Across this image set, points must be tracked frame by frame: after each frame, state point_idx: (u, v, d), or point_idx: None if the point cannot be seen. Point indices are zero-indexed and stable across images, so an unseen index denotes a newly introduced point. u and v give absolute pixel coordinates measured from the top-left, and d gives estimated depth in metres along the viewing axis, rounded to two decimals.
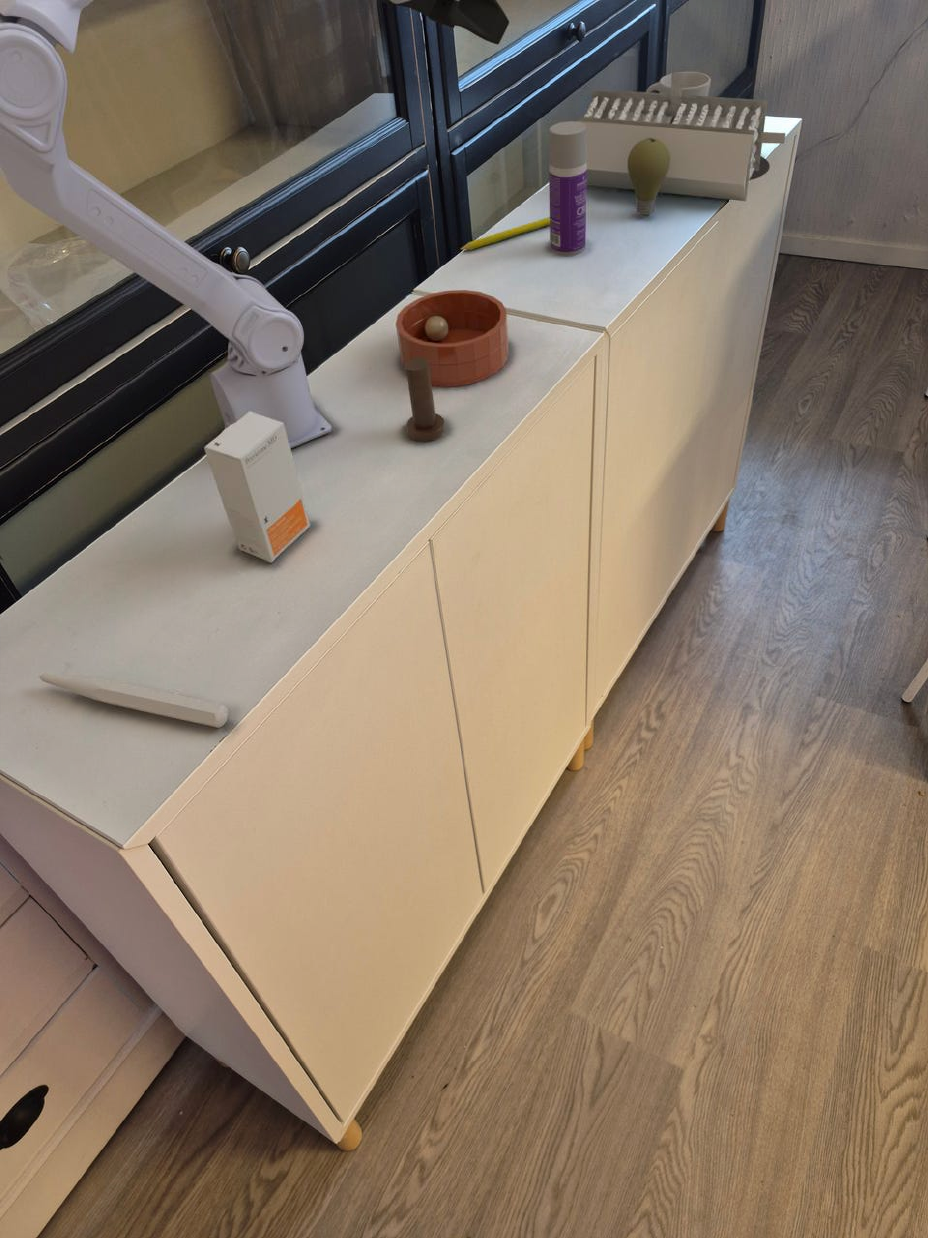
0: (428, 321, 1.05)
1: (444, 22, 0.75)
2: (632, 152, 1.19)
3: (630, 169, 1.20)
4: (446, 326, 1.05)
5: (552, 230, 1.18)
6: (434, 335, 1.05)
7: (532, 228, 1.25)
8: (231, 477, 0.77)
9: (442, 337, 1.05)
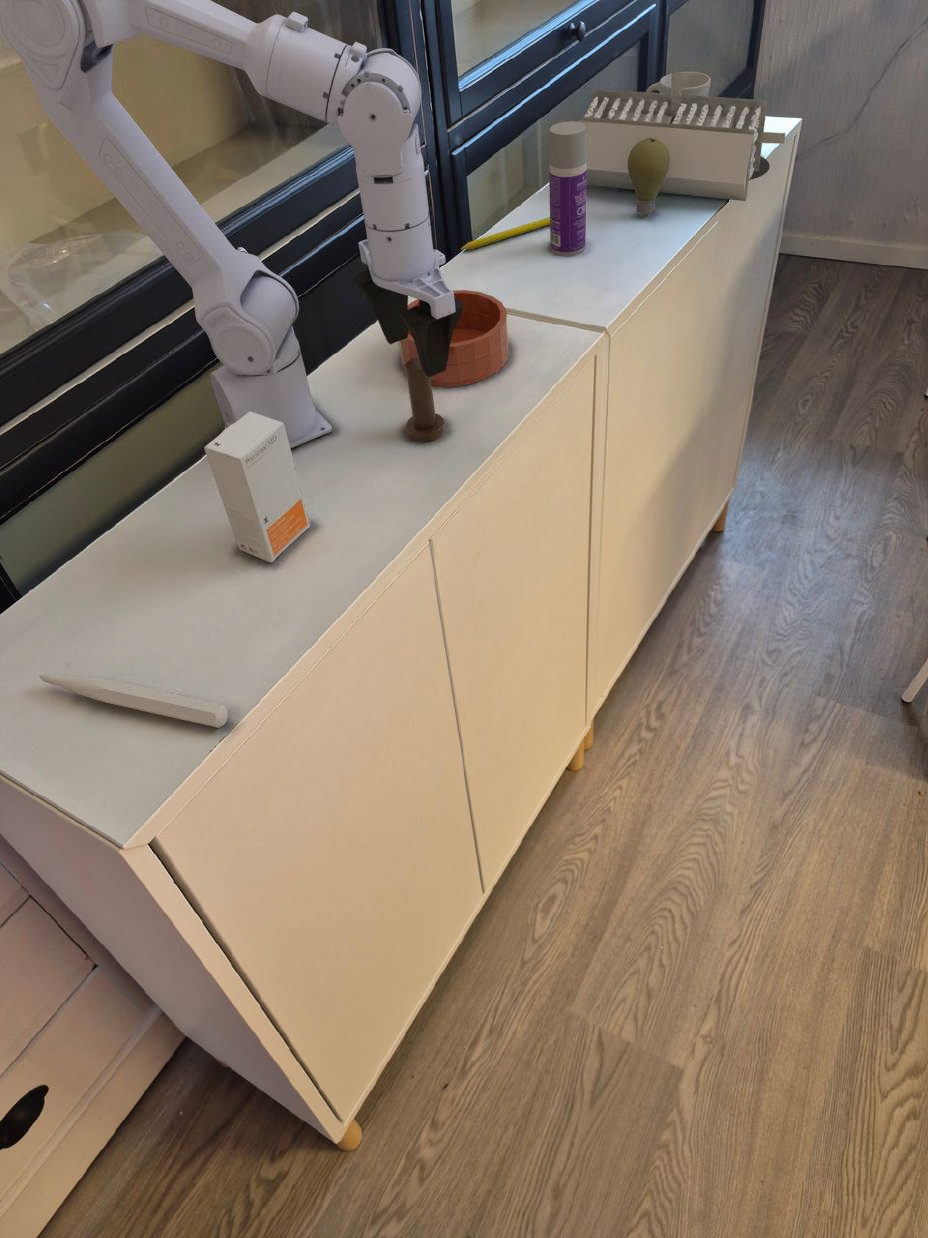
0: None
1: (412, 324, 0.79)
2: (632, 152, 1.19)
3: (630, 169, 1.20)
4: None
5: (552, 230, 1.18)
6: None
7: (532, 228, 1.25)
8: (231, 477, 0.77)
9: None
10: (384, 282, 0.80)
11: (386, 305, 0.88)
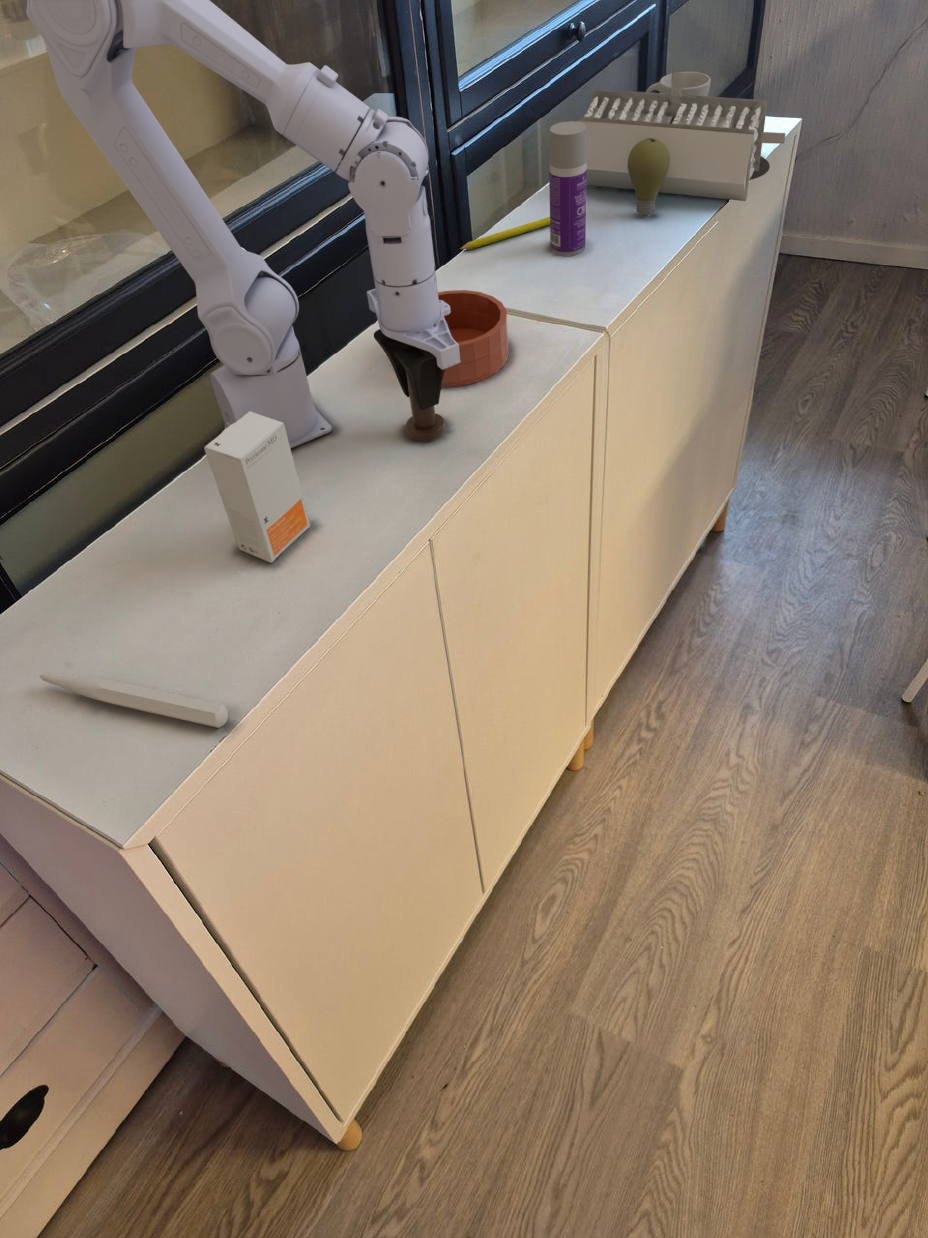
0: None
1: (406, 363, 0.84)
2: (632, 152, 1.19)
3: (630, 169, 1.20)
4: None
5: (552, 230, 1.18)
6: None
7: (532, 228, 1.25)
8: (231, 477, 0.77)
9: None
10: (392, 333, 0.84)
11: None
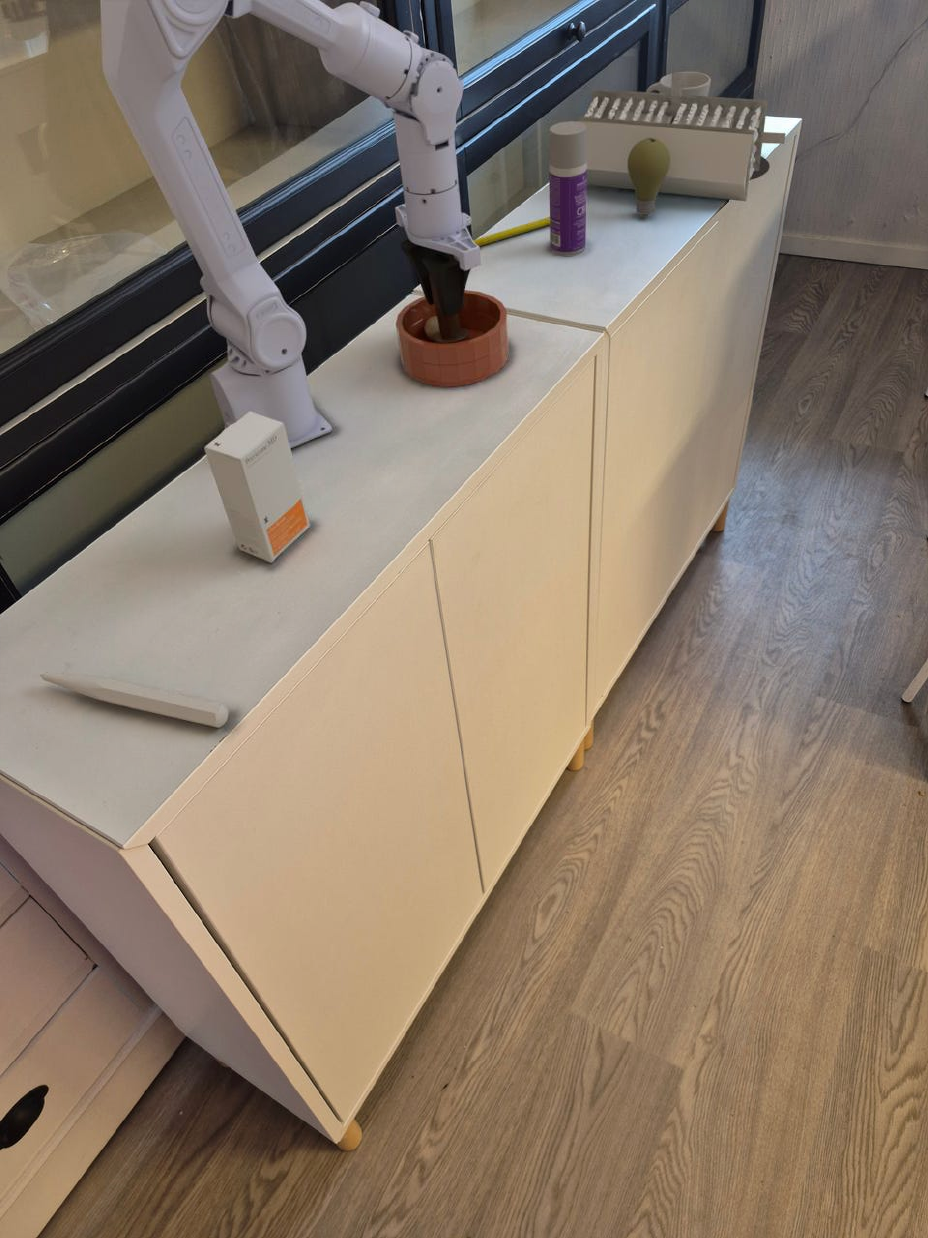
0: (428, 321, 1.05)
1: (433, 268, 0.93)
2: (632, 152, 1.19)
3: (630, 169, 1.20)
4: None
5: (552, 230, 1.18)
6: (434, 335, 1.05)
7: (532, 228, 1.25)
8: (231, 477, 0.77)
9: None
10: (419, 239, 0.93)
11: (428, 269, 0.99)
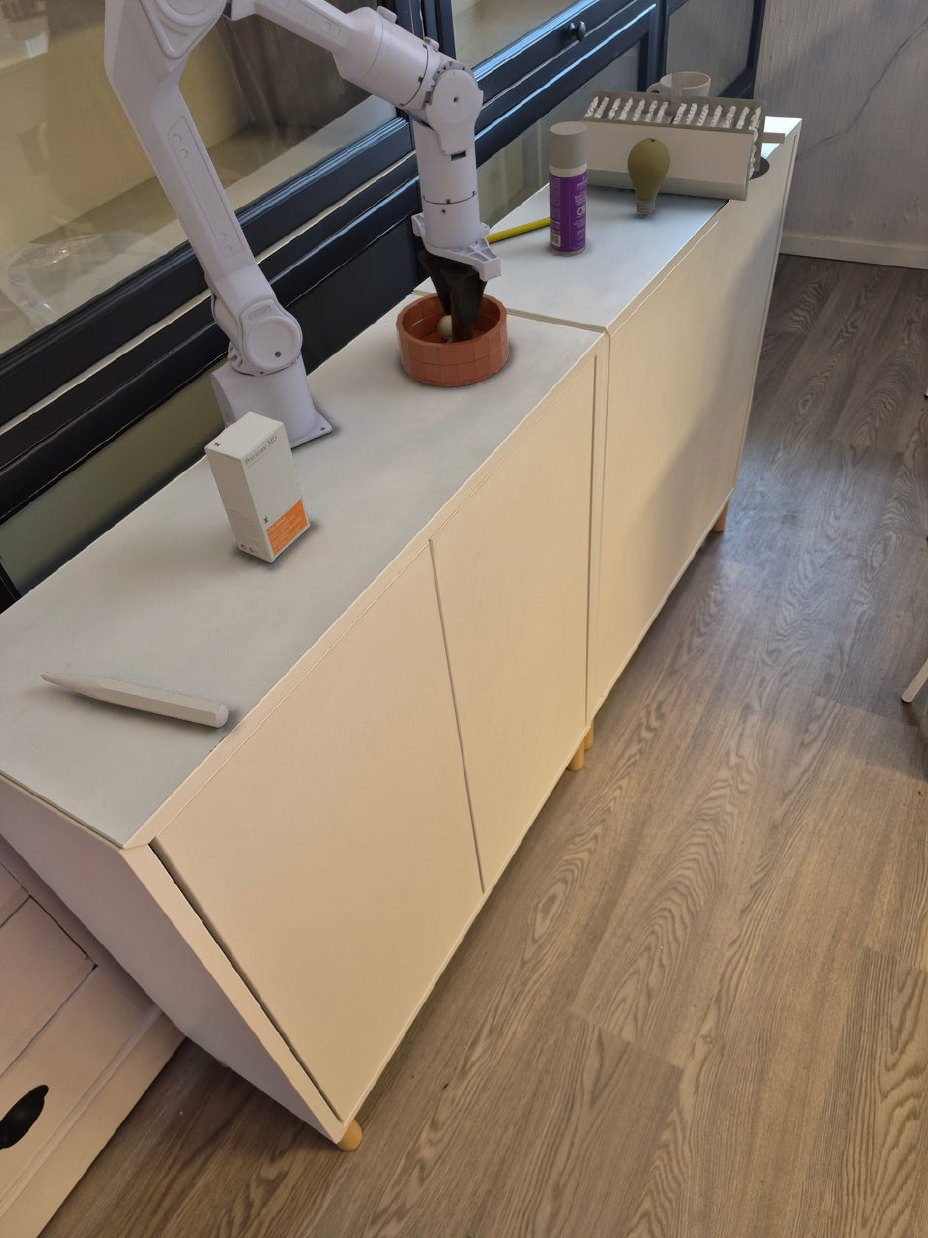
0: None
1: (451, 278, 0.92)
2: (632, 152, 1.19)
3: (630, 169, 1.20)
4: None
5: (552, 230, 1.18)
6: (447, 338, 1.05)
7: (532, 228, 1.25)
8: (231, 477, 0.77)
9: None
10: (437, 250, 0.91)
11: (445, 279, 0.97)
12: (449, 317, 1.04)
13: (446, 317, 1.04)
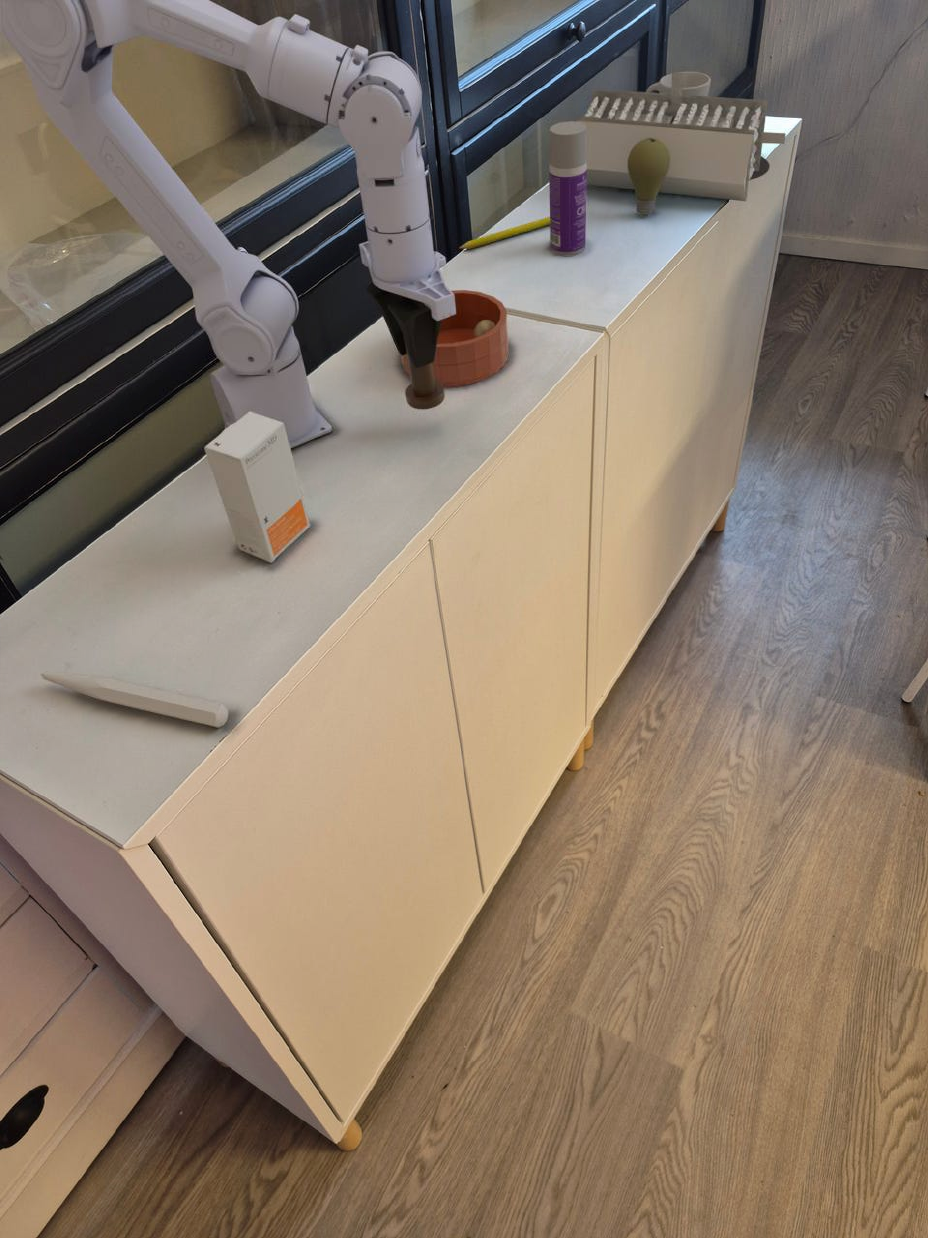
0: None
1: (400, 316, 0.81)
2: (632, 152, 1.19)
3: (630, 169, 1.20)
4: None
5: (552, 230, 1.18)
6: (482, 332, 1.03)
7: (531, 228, 1.25)
8: (231, 477, 0.77)
9: (487, 324, 1.03)
10: (385, 284, 0.81)
11: None
12: None
13: None
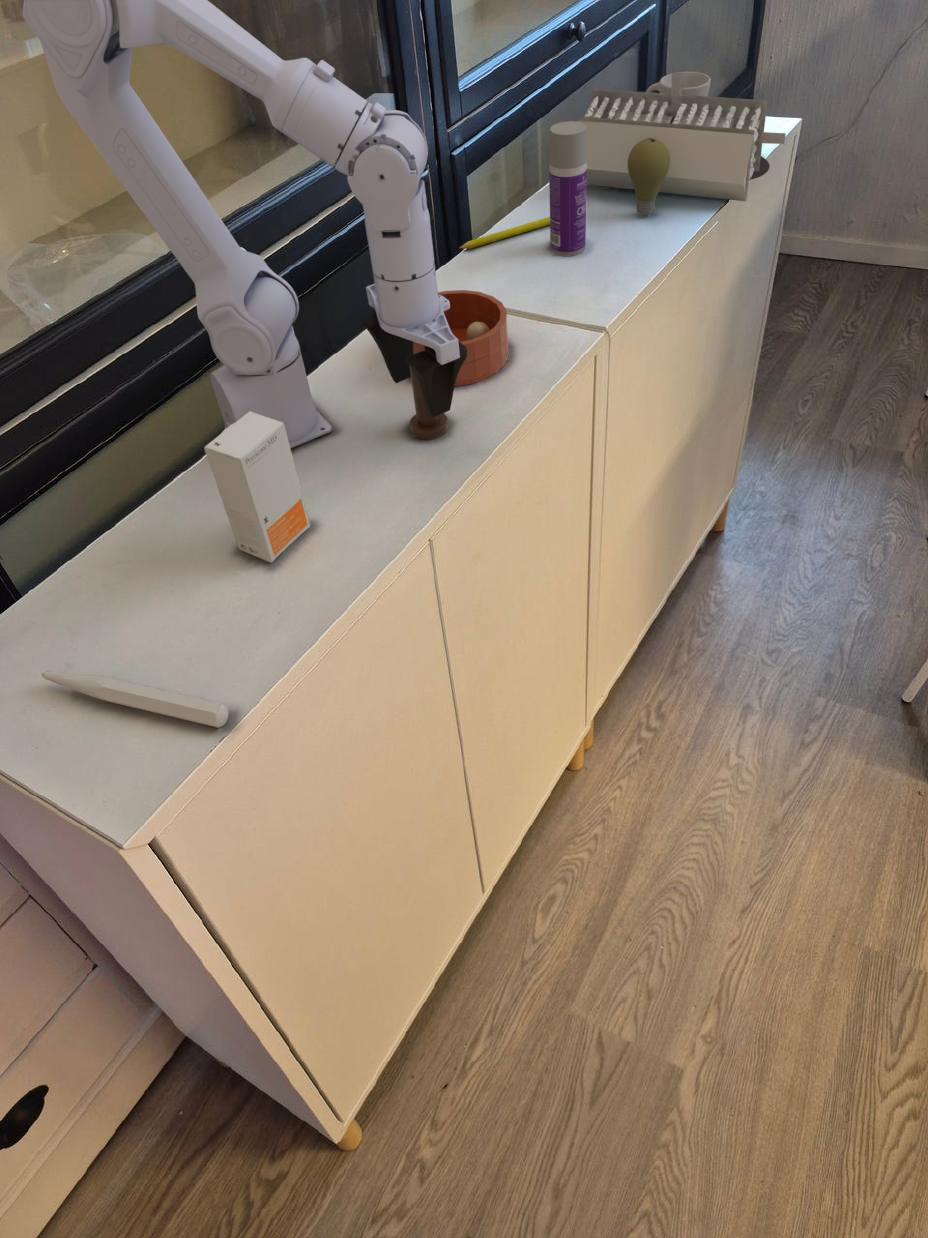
0: None
1: (418, 369, 0.83)
2: (632, 152, 1.19)
3: (630, 169, 1.20)
4: (467, 328, 1.04)
5: (552, 230, 1.18)
6: None
7: (531, 228, 1.25)
8: (231, 477, 0.77)
9: (472, 328, 1.03)
10: (391, 328, 0.84)
11: (392, 346, 0.91)
12: None
13: None
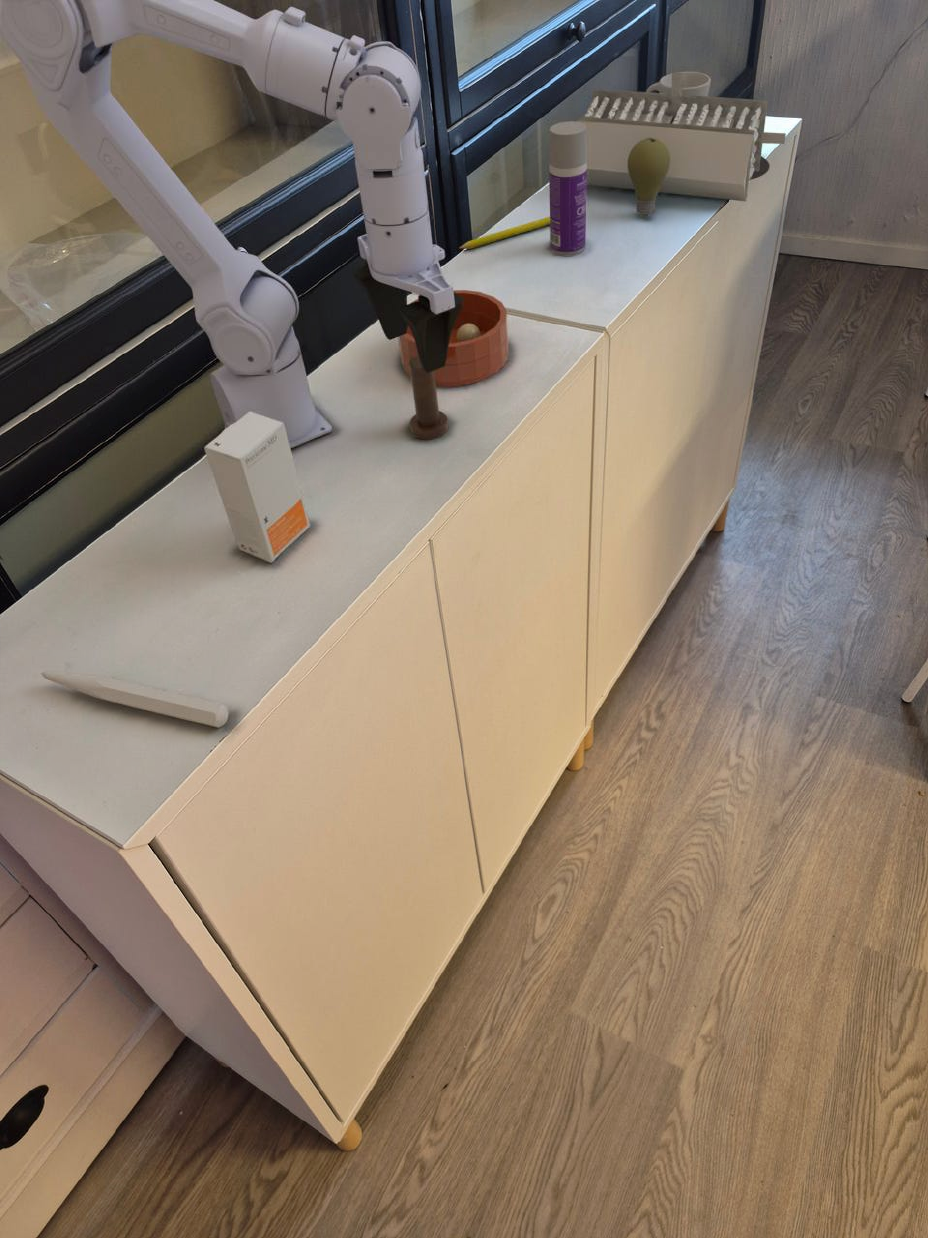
0: None
1: (411, 319, 0.79)
2: (632, 152, 1.19)
3: (630, 169, 1.20)
4: None
5: (552, 230, 1.18)
6: None
7: (531, 228, 1.25)
8: (231, 477, 0.77)
9: (458, 338, 1.03)
10: (383, 277, 0.80)
11: (385, 300, 0.87)
12: None
13: None
